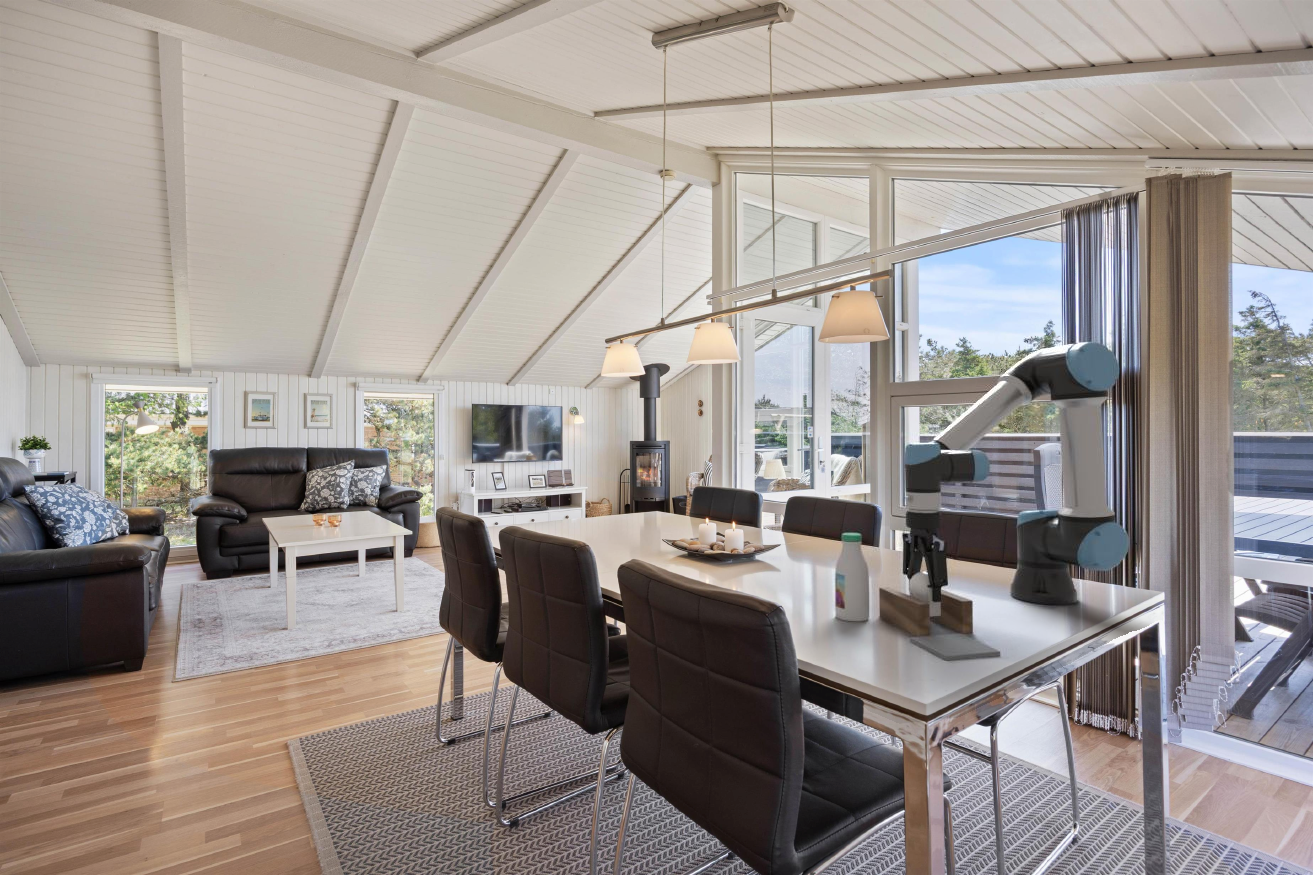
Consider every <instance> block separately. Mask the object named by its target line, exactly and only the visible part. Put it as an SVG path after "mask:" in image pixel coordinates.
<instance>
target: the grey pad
mask: <svg viewBox="0 0 1313 875" xmlns="http://www.w3.org/2000/svg"><path fill="white" fill-rule="evenodd" d="M909 642H911V643H912V644H914V645H916V646H918V647H920V648H921V649H924V650H925V651H927V652H929V653H931V654H932V655H935V656H936V657H939V658H941V659H942V660H945V661H954V660H956V661H957V660H966V659H975V658H976V659H977V658H988V657H996V656H997V657H998V656H1001V651H1000V650H998V649H996V648H994V647H992V646H989V645H987V644H985V643H982V642H980V641H979V640H976V639H974V638H971V636H967V635H965V634H962V633H960V632H958V633H948V634H939V635H938V634H936V635H930V636H922V637H918V636H914V637H913V636H911V637H909Z"/></svg>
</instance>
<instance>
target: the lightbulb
mask: <svg viewBox="0 0 1313 875" xmlns="http://www.w3.org/2000/svg"><path fill="white" fill-rule="evenodd" d="M934 582H935V581H934ZM927 585H930V583H929V578H928V573H927V571H920V572H918V573H916V574H915V575H913V576H912V578H911V580H910V590H911V592H912V593H913V595H914V596H915V598H917V599H919V600H921V601H924V602H926V603H928V593H927ZM930 618H931V617H930Z"/></svg>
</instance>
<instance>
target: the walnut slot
mask: <svg viewBox="0 0 1313 875" xmlns="http://www.w3.org/2000/svg"><path fill="white" fill-rule="evenodd" d="M878 592H879V594H878V596H879V597H878V598H879V603H878V604H879V618H881V619H883V620H884V621H887V622H889V623H890V624H892V625H894V626H896V627H898V628H900V629H903V630H904V631H906V632H909V633H910V634H912V635H914V636H915V637H922V636H931V634H930V632H931V629H930V626H931V625H930V620H931V621H934V622H936V623H938V624H941V625H942V626H944V627H947V628H948V629H949V628H950V629H952V630H954V631H956V632H958V633H961V634H963V635H965V634H973V633H974V628H973V627H974V621H973V620H974V617H973V615H974V614H973V613H974V612H973V610H974V609H973V607H974V606H973V605H974V604H973V600H971V599H969V598H966V597H963V596H961V595H958V594H955V593H952V592H950V591H947V590H944V589H942V588H941V616H931V618H930V613H929V603H926V602H924V601H921V600H919V599H917V598H914V597H912V596H910V594H907V593H905V592H902V591H899V590H896V589H894V588H893V587H890V586H884V587H879V590H878Z"/></svg>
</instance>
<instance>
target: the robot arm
mask: <svg viewBox="0 0 1313 875" xmlns="http://www.w3.org/2000/svg"><path fill="white" fill-rule="evenodd" d="M1119 375H1120V366H1119V362H1118V359H1117V357H1116V355H1115V354H1114V352H1113V351H1112V350H1110V349H1109V347H1107V346H1106V345H1105V344H1103V343H1101V342H1096V341H1086V342H1085V341H1084V342H1083V341H1082V342H1076V343H1071V344H1065V345H1059V346H1054V347H1053V346H1052V347H1046V348H1045V347H1044V348H1041V349H1039V350H1036V351H1034V352H1032V353H1030V354H1029V355H1027V356H1025V357H1023V358H1022V359H1021V360H1020V361H1018V362H1017V363H1015V365H1013V366H1012V367H1010V368H1009V369H1008V370H1006V372H1005V373H1003V374H1002V375H1000V377H999V378H997V379H998V380H997V382H996V384H997V385H995V386H994V387H993V388H992V389H990V390H989V391H987V393H986V394H985V395H983V396H982V397H981V398H980V399H979V400H978V401H976V402H975V403H974V404H973V405H971V406H970V407H969V408H968V409H967V410H966V411H964V412H963V413H962V414H961V415H960V416H958V418H957V419H955V420H954V421H953V422H951V423H950V424H949V425H948V426H947V427H946V428H944V429H943V431H941V432H940V433H939V434H938V435H936V436H935V437H934V438H932V439H931V441H929V442H911V443H908V444H907V445H906V446H905V451H904V459H903V468H904V483H905V484H904V485H905V486H904V488H905V497H904V499H905V508H906V509H907V511H906V512H905V526H906V527H907V528H909V529H910V530H909V532H902V534H901V537H902V544H903V546H902V547H903V548H902V574H903V575H906V576H907V579H908V590H909V596H912V597H914V598H915V596H914V595H913V593H912V592H911V590H910V580H911V578H912V576H913V575H915V574H916V573H918V572H921V570H922V569H921V568H922V565H923V560H924V561H925V567H926V568H925V569H926V572H927V573H928V578H929V583H930V585H927V593H928V603H929V613H930V617H931V616H941V589H942V588H943V587H946V586H948V585H949V580H948V579H949V578H948V562H947V561H948V560H947V547H948V543H947V541H946V540H941V539H939V535H938V529H941V528H942V513H941V511H939V510H941V509H942V490H941V489H942V485H943V484H962V483H963V484H964V483H965V484H966V483H969V484H973V483H979V482H983V481H985V480H986V479H987V478H988V476H989V474H990V472H991V466H990V465H991V462H990V460H989V457H988V455H987V454H986V452H983V451H982V450H977V449H975V450H974V449H970V448H972V447H973V446H975V444H976V443H978V442H979V441H980V440H982V438H983V437H985V436H986V435H987V434H988V433H989V432H991V431H992V430H993V429H994V428H996V427H997V426H998V425H999V424H1000V423H1001V422H1002V421H1004V420H1005V419H1006V418H1007V417H1009V416H1010V414H1011V415H1012V413H1013V412H1014V411H1015V410H1017V409H1018V408H1019V407H1021V406H1023V407H1024V406H1028V405H1029V404H1030V403H1032V402H1033V401H1034V400H1036V399H1037V398H1039V397H1043V396H1046V395H1050V402H1051V403H1052V404H1053V405H1055V406H1056V407H1057V409H1058V419H1059V420H1058V421H1059V436H1060V452H1061V453H1060V454H1061V469H1062V489H1063V506H1062V507H1061V508H1060V509H1042V510H1040V509H1039V510H1024V511H1020V512H1019V513H1018V515H1017V520H1016V522H1017V524H1016V542H1017V544H1016V546H1017V567H1016V570H1015V573H1014V577H1013V579H1012V580H1013V581H1012V582H1011V584H1010V592H1009V593H1010V596H1011V597H1013V598H1016V599H1018V600H1020V601H1021V600H1022V601H1023V602H1024V601H1025V602H1030V603H1035V604H1041V605H1042V604H1043V605H1044V604H1045V605H1072V604H1075V603H1077V602H1078V591H1077V589H1076V588H1075V585H1074V584H1075V583H1074V581H1073V577H1072V575H1071V573H1070V565H1072V566H1076V567H1079V568H1083V569H1085V570H1088V571H1089V570H1090V571H1091V570H1095V571H1101V572H1104V571H1110V570H1112V569H1114V568H1116V567H1117V566H1119V565H1120V564H1121V562H1122V561H1123V560H1124V559H1125V557H1126V556H1127V553H1128V551H1129V546H1130V537H1129V535H1128V532H1127V530H1125V528H1124V527H1123V526H1122V525H1120V524H1119V523H1118V522H1116V515H1115V513H1116V512H1115V511H1114V510H1112V508H1110V507H1109V506H1108V505H1107V491H1106V475H1105V470H1106V469H1105V455H1104V439H1103V422H1102V420H1103V418H1102V404H1103V403H1104V402H1105V401H1106V400H1108V399H1109V395H1108V394H1109V393H1108V392H1109V390H1110V389H1111V388H1112V387H1113V386H1115V384H1116V381H1118V379H1119V377H1120V376H1119ZM934 581H935V582H934Z"/></svg>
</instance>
